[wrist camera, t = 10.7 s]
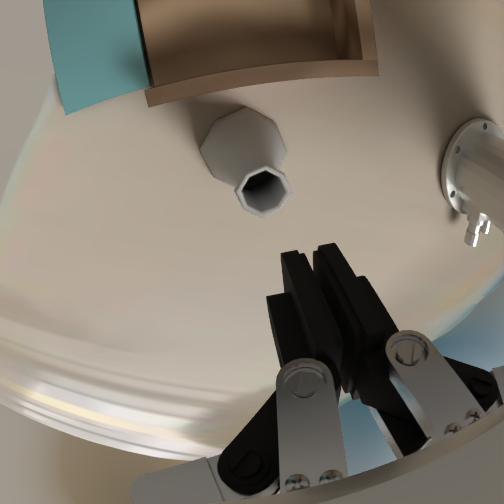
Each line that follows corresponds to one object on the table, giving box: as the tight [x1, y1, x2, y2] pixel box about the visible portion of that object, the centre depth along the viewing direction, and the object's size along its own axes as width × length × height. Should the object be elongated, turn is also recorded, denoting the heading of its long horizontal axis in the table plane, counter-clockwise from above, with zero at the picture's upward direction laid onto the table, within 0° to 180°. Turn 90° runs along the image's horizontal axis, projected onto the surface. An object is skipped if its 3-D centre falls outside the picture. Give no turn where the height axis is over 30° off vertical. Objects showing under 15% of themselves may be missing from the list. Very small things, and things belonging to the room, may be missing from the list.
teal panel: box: [43, 0, 151, 115], centre depth 16 cm, size 17×1×8 cm
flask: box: [199, 107, 292, 218], centre depth 22 cm, size 7×7×10 cm
